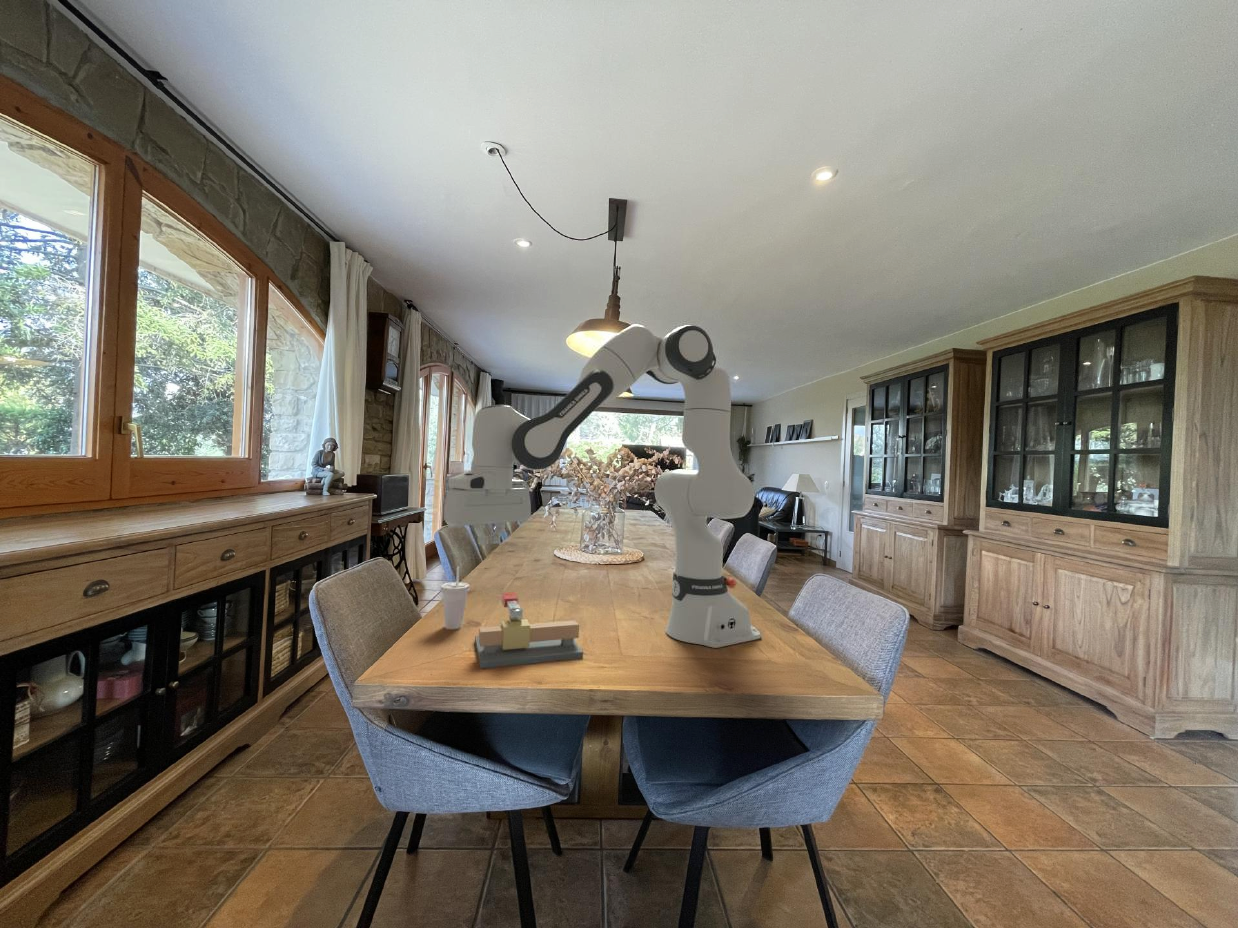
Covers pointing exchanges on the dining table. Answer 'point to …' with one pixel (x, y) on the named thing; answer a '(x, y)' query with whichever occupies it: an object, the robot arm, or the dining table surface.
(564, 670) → the dining table surface
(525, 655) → the board
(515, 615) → the lever
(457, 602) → the smoothie
